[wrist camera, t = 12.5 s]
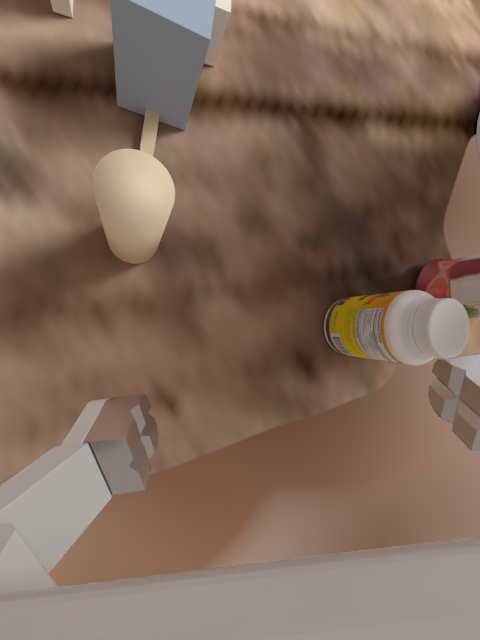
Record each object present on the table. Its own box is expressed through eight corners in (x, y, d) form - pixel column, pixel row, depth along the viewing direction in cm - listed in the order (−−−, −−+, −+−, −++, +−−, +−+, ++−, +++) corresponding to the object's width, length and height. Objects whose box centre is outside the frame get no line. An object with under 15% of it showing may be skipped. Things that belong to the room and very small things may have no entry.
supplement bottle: (370, 304, 30) (483, 295, 20) (362, 358, 29) (474, 376, 20) (325, 292, 28) (426, 276, 18) (316, 349, 28) (415, 365, 18)
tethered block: (127, 42, 22) (125, -135, 13) (193, 71, 24) (228, -69, 15) (92, 256, 21) (67, 211, 12) (164, 270, 23) (183, 239, 14)
